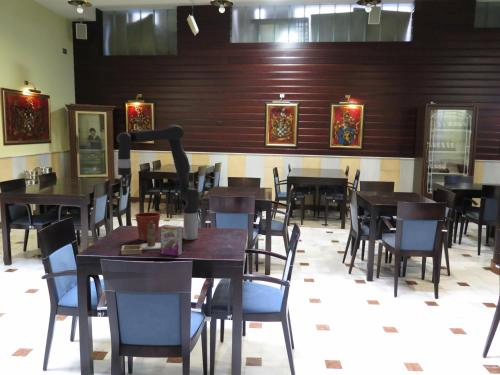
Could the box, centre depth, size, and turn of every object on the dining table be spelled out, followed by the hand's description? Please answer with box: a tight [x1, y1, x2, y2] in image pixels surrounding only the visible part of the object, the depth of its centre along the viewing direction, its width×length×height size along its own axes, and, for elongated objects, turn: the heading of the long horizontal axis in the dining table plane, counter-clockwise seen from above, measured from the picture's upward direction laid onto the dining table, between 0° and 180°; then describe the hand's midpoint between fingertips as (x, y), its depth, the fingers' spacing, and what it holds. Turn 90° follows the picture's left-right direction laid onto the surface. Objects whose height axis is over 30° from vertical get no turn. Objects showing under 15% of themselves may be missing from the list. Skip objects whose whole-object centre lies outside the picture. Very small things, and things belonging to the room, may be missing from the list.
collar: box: [120, 244, 143, 256], centre depth 244 cm, size 11×11×2 cm
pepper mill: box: [146, 221, 156, 247], centre depth 255 cm, size 5×5×15 cm
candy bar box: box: [160, 224, 183, 257], centre depth 239 cm, size 11×5×16 cm, turn 74°
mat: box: [140, 242, 161, 250], centre depth 256 cm, size 12×12×1 cm
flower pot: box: [134, 211, 162, 242], centre depth 274 cm, size 16×16×16 cm
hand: (124, 194), depth 250 cm, fingers open, 8 cm apart
